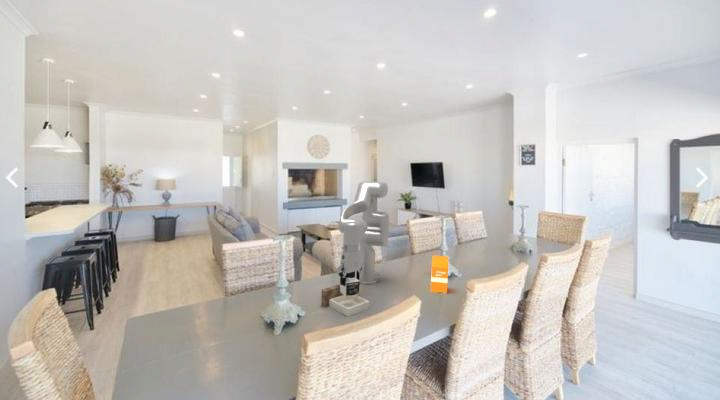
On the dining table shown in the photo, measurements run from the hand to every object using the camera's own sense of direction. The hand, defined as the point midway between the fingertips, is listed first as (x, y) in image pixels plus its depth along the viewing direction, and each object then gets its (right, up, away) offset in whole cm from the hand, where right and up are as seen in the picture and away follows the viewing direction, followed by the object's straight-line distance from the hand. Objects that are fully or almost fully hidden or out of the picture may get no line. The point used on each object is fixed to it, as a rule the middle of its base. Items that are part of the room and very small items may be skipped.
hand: (349, 282), depth 156 cm
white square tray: (0, -12, +1) cm, 12 cm away
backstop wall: (-7, -11, +8) cm, 15 cm away
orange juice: (+50, -12, +28) cm, 58 cm away
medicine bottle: (0, -5, +1) cm, 5 cm away
